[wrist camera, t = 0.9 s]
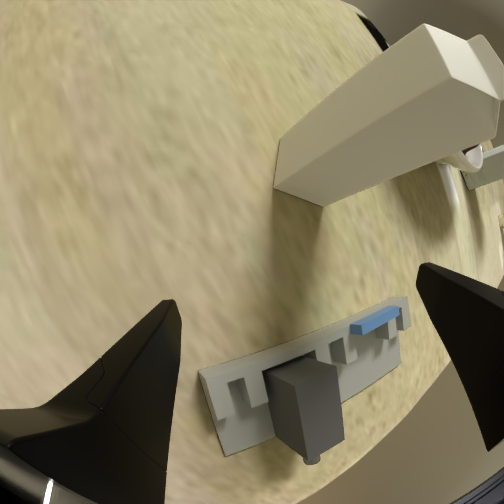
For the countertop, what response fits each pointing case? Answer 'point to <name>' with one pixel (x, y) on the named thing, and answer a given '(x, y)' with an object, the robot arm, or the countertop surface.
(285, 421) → the dark grey knobbed block
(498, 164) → the skincare box
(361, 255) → the countertop surface
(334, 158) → the milk
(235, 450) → the grey toothed rack
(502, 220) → the cup with straw
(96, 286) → the countertop surface
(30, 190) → the countertop surface
